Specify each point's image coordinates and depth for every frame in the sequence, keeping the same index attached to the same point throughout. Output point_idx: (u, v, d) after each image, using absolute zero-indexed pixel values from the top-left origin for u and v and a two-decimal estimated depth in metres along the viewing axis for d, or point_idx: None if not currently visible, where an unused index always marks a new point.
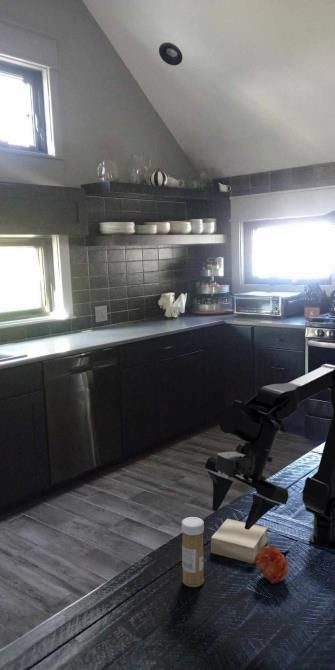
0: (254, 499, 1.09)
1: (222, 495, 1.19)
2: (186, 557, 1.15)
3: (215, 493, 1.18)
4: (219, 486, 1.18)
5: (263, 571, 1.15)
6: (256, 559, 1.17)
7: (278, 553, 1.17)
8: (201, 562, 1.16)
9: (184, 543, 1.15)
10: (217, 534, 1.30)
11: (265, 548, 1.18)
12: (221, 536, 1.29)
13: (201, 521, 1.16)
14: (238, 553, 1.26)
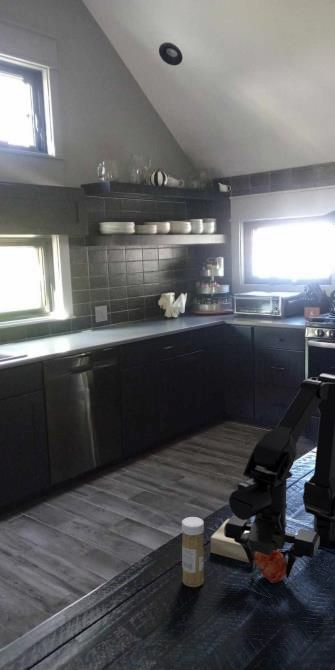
0: (290, 556, 1.13)
1: None
2: (186, 557, 1.15)
3: (249, 555, 1.19)
4: None
5: (262, 571, 1.15)
6: (255, 559, 1.17)
7: (277, 553, 1.17)
8: (201, 562, 1.16)
9: (184, 543, 1.15)
10: (217, 534, 1.30)
11: None
12: (221, 536, 1.29)
13: (201, 521, 1.16)
14: (238, 553, 1.26)
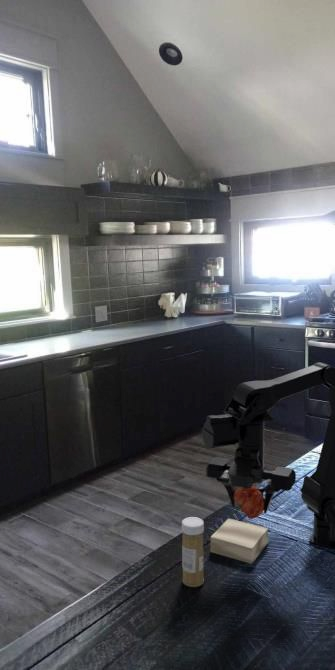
0: (267, 491, 1.20)
1: (235, 490, 1.26)
2: (186, 557, 1.15)
3: (231, 494, 1.25)
4: (231, 486, 1.25)
5: (241, 506, 1.22)
6: (235, 496, 1.23)
7: (255, 490, 1.23)
8: (201, 562, 1.16)
9: (184, 543, 1.15)
10: (217, 533, 1.30)
11: None
12: (221, 535, 1.29)
13: (201, 521, 1.16)
14: (237, 553, 1.26)
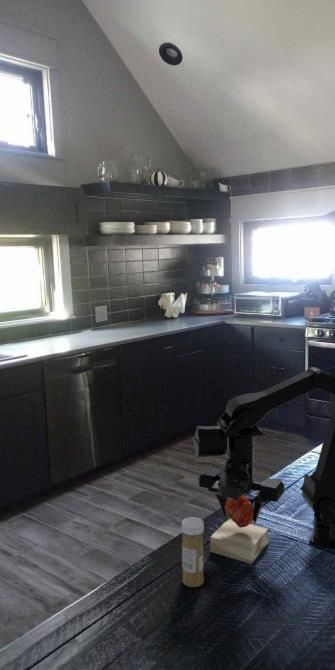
0: (256, 502, 1.25)
1: (226, 500, 1.31)
2: (186, 557, 1.15)
3: (222, 503, 1.30)
4: (223, 496, 1.30)
5: (231, 516, 1.27)
6: (225, 505, 1.28)
7: (245, 500, 1.28)
8: (201, 562, 1.16)
9: (184, 543, 1.15)
10: (217, 533, 1.30)
11: None
12: (221, 535, 1.29)
13: (201, 521, 1.16)
14: (237, 553, 1.26)
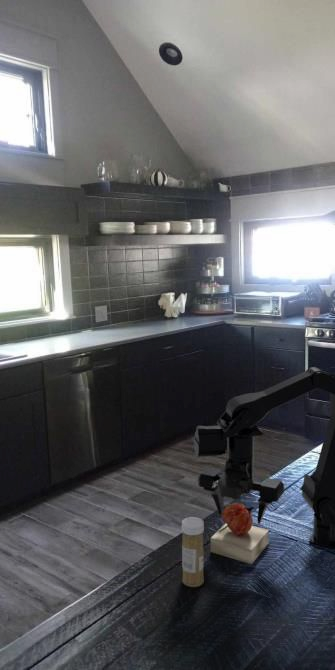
0: (260, 503, 1.24)
1: (222, 499, 1.32)
2: (186, 557, 1.15)
3: (217, 502, 1.30)
4: (218, 495, 1.30)
5: (228, 524, 1.27)
6: (223, 514, 1.29)
7: (243, 509, 1.29)
8: (201, 562, 1.16)
9: (184, 543, 1.15)
10: (217, 534, 1.30)
11: (231, 504, 1.30)
12: (221, 537, 1.29)
13: (201, 521, 1.16)
14: (237, 554, 1.26)
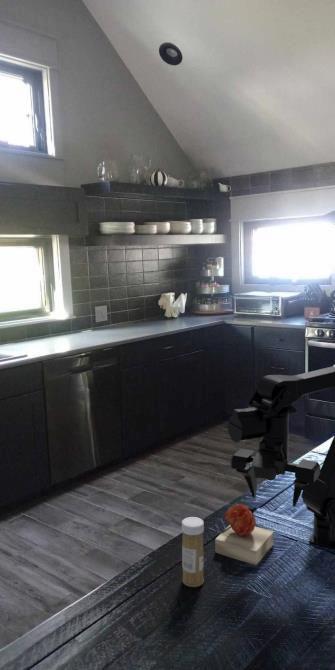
0: (296, 485, 1.20)
1: (255, 481, 1.28)
2: (186, 557, 1.15)
3: (250, 484, 1.26)
4: (251, 477, 1.26)
5: (232, 525, 1.27)
6: (226, 515, 1.29)
7: (246, 509, 1.28)
8: (201, 562, 1.16)
9: (184, 543, 1.15)
10: (222, 536, 1.30)
11: (234, 505, 1.29)
12: (226, 538, 1.29)
13: (201, 521, 1.16)
14: (241, 555, 1.25)
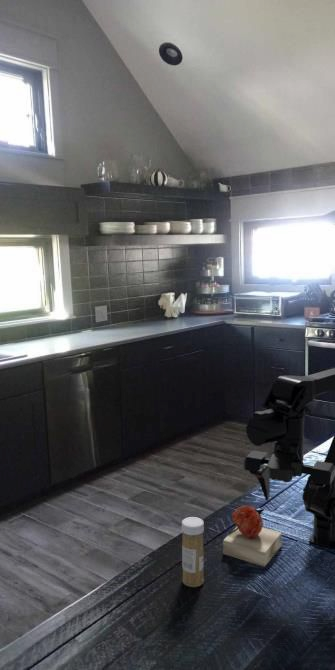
0: (311, 486, 1.18)
1: (268, 483, 1.26)
2: (186, 557, 1.15)
3: (264, 487, 1.24)
4: (265, 479, 1.24)
5: (239, 527, 1.26)
6: (233, 516, 1.28)
7: (253, 511, 1.28)
8: (201, 562, 1.16)
9: (184, 543, 1.15)
10: (230, 537, 1.29)
11: (241, 506, 1.29)
12: (234, 539, 1.28)
13: (201, 521, 1.16)
14: (250, 557, 1.25)
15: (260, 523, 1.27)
